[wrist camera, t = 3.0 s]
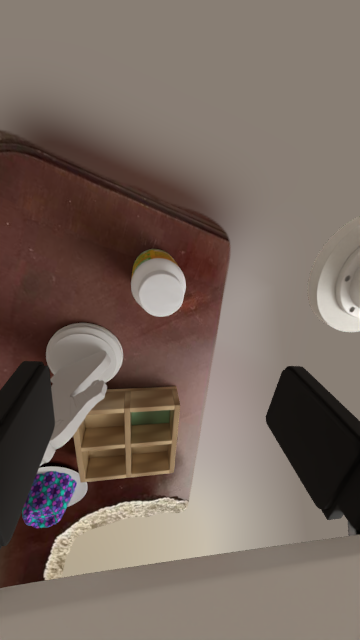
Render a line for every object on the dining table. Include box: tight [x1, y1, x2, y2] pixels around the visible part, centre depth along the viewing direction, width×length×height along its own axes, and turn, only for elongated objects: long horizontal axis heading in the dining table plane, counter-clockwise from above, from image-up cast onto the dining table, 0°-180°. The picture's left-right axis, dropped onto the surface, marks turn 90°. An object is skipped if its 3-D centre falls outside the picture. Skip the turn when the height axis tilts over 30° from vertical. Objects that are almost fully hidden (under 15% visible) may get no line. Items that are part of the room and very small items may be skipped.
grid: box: [73, 386, 180, 483], centre depth 37 cm, size 15×15×4 cm
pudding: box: [22, 466, 87, 528], centre depth 40 cm, size 12×12×5 cm
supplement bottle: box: [131, 249, 186, 317], centre depth 25 cm, size 5×5×10 cm
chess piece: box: [40, 323, 123, 466], centre depth 26 cm, size 10×10×15 cm
